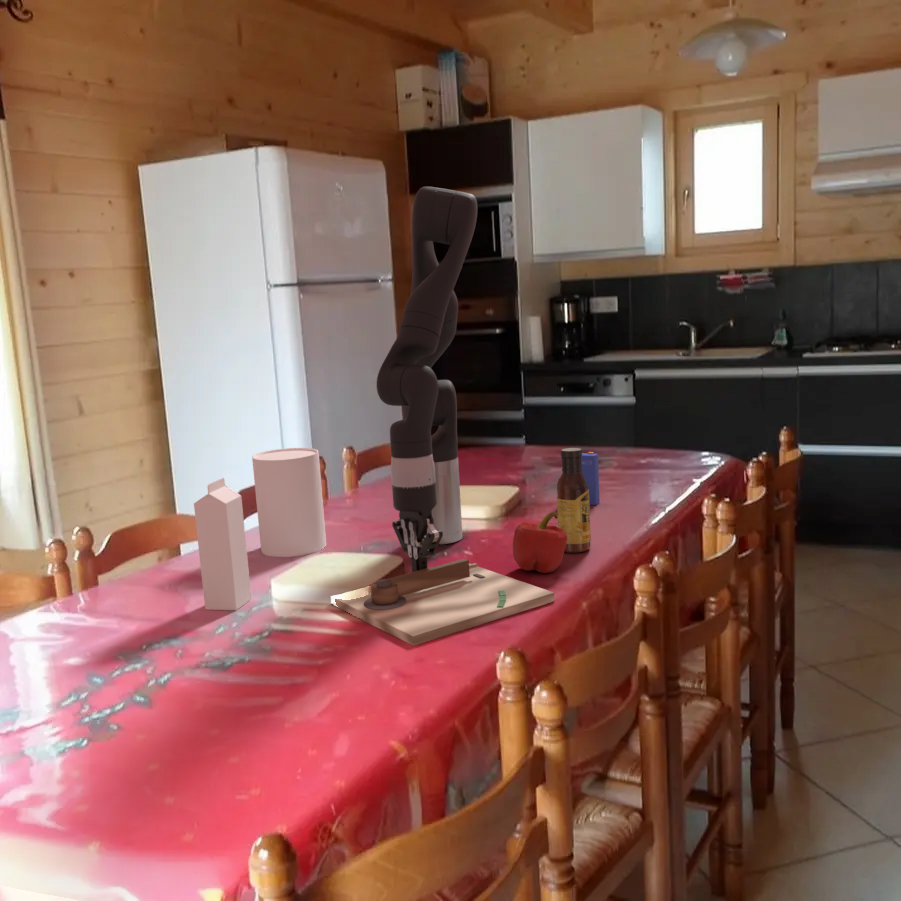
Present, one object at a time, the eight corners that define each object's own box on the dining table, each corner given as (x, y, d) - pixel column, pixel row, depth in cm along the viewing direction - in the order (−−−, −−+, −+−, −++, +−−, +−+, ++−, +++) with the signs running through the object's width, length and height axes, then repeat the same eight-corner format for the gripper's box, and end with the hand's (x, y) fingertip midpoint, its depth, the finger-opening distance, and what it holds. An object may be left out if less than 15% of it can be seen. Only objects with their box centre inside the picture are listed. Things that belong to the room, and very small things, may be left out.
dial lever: (366, 599, 162) (365, 581, 161) (469, 571, 173) (468, 554, 173) (380, 606, 158) (378, 587, 157) (484, 577, 170) (483, 559, 169)
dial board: (330, 604, 167) (329, 594, 166) (462, 568, 182) (461, 559, 182) (413, 645, 146) (412, 634, 145) (554, 601, 161) (554, 591, 161)
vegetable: (539, 557, 186) (536, 506, 185) (582, 566, 179) (580, 514, 177) (500, 572, 179) (497, 519, 177) (543, 582, 172) (541, 527, 170)
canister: (339, 544, 204) (331, 450, 201) (288, 560, 195) (279, 462, 191) (299, 535, 213) (291, 446, 210) (248, 550, 204) (238, 456, 200)
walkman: (599, 502, 227) (598, 452, 225) (595, 505, 225) (594, 454, 222) (567, 500, 231) (565, 451, 228) (563, 503, 228) (561, 453, 226)
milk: (205, 610, 168) (190, 485, 164) (221, 598, 173) (207, 477, 170) (237, 610, 166) (223, 484, 162) (252, 598, 172) (239, 477, 168)
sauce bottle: (590, 554, 187) (586, 452, 183) (557, 554, 188) (553, 453, 184) (592, 544, 193) (588, 446, 189) (560, 544, 194) (556, 446, 191)
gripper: (453, 482, 163) (459, 581, 166) (411, 472, 174) (417, 565, 177) (416, 490, 159) (423, 591, 162) (375, 479, 170) (382, 574, 173)
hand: (420, 577), depth 170 cm, fingers closed
